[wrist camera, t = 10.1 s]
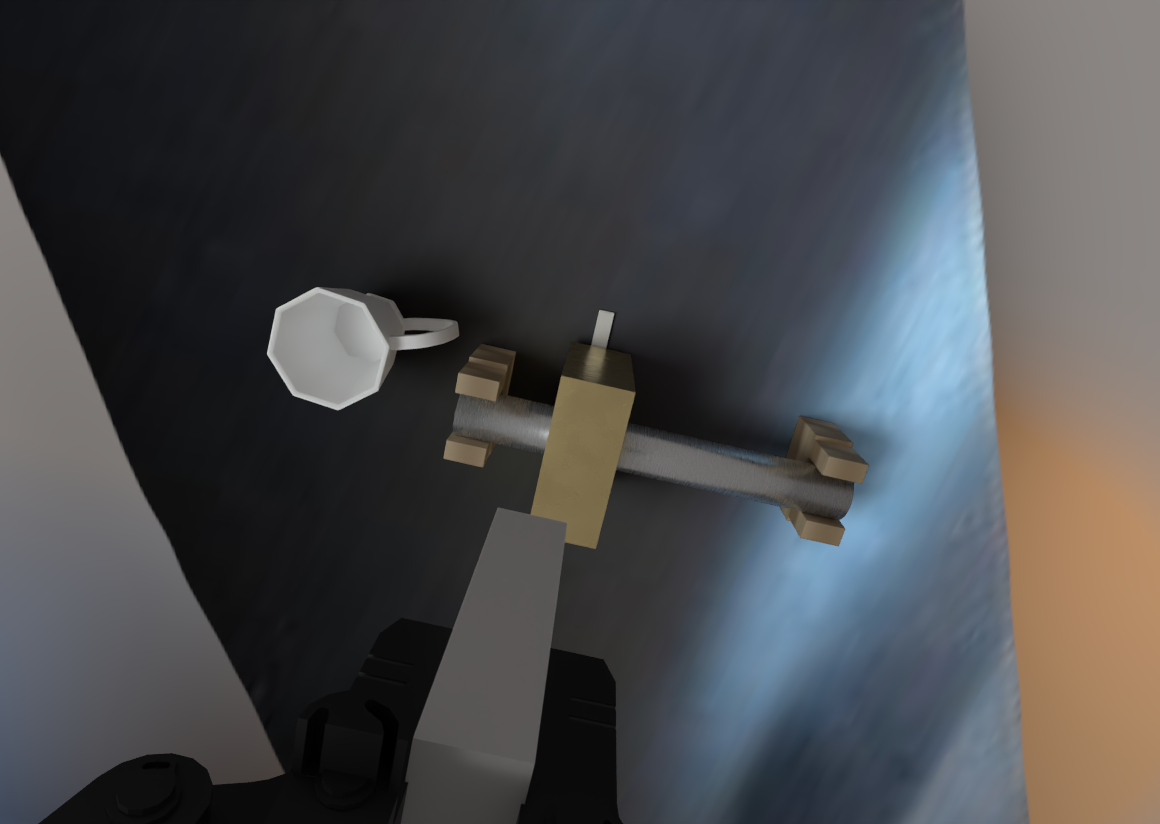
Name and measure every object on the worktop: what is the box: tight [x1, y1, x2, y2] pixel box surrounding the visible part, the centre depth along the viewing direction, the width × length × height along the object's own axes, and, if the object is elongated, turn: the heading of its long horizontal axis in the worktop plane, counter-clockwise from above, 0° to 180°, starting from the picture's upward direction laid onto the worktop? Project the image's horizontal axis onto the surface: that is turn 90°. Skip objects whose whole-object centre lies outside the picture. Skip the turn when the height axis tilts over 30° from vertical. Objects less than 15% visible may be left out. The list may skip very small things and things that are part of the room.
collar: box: [531, 341, 636, 549], centre depth 42 cm, size 4×9×9 cm, turn 168°
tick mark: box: [591, 310, 614, 349], centre depth 48 cm, size 1×14×1 cm, turn 168°
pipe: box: [453, 394, 854, 520], centre depth 43 cm, size 24×3×3 cm, turn 78°
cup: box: [267, 287, 459, 410], centre depth 43 cm, size 7×10×8 cm
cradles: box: [444, 344, 869, 546], centre depth 44 cm, size 24×6×7 cm, turn 78°
